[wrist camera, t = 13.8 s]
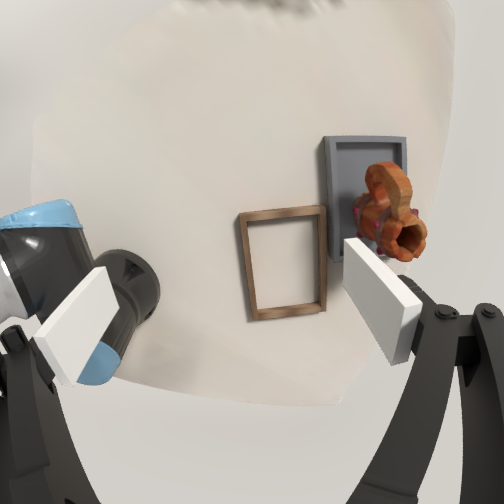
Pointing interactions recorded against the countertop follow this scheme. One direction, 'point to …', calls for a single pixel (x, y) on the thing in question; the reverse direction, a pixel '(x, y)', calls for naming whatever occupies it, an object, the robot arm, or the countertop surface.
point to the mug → (389, 213)
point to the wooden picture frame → (322, 252)
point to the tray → (354, 181)
